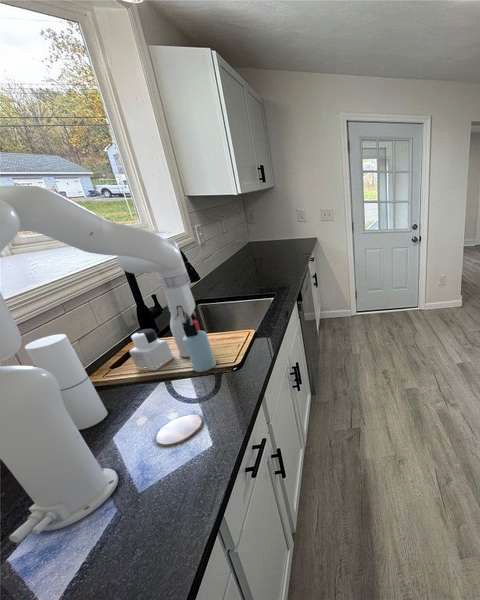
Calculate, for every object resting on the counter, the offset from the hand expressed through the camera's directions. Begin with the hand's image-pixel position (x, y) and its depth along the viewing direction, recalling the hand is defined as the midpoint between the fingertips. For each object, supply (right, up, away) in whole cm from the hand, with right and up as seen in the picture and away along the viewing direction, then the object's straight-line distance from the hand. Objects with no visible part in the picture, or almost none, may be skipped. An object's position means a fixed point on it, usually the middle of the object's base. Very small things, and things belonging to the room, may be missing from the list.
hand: (193, 332), depth 103 cm
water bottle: (+1, -12, +5) cm, 13 cm away
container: (-19, -12, +9) cm, 24 cm away
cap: (0, +1, 0) cm, 1 cm away
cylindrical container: (-18, -23, -16) cm, 33 cm away
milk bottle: (-10, -9, +15) cm, 20 cm away
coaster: (+11, -23, -22) cm, 34 cm away
